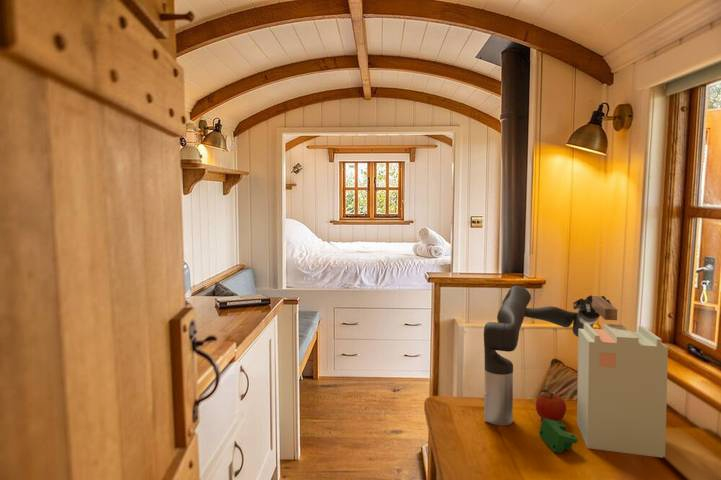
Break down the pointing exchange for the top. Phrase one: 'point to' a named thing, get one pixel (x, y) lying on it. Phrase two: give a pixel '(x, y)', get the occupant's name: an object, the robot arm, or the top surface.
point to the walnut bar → (604, 308)
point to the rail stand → (622, 390)
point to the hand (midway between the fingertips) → (597, 298)
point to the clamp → (556, 435)
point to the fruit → (550, 406)
